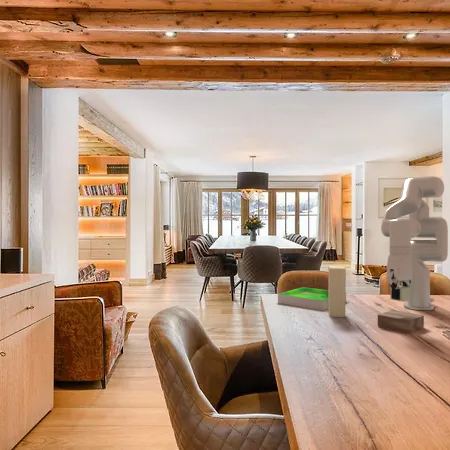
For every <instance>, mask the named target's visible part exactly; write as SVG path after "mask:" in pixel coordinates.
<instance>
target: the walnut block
mask: <svg viewBox="0 0 450 450" xmlns="http://www.w3.org/2000/svg"><path fill="white" fill-rule="evenodd" d="M424 317H425V315H422V314H417V313H414V312H413V313H412V312H407V311H402V310H397V309H396V310H395V309H391V310H388V311H385V312H382V313H378V314H377V327H378V328H382V329H387V330H390V331H391V330H392V331H394V332H395V331H396V332H400V333H403V334H412V333H414V332H416V331H419V330H423V329H424V328H425V318H424Z"/></svg>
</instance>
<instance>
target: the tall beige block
mask: <svg viewBox="0 0 450 450" xmlns="http://www.w3.org/2000/svg"><path fill="white" fill-rule="evenodd" d="M327 274H328V278H327V279H328V289H327V290H328V310H327V311H328V315H329V317H331V318H332V317H333V318H346V302H345V292H346V293H347V291H346V290H347V289H346V282H347V281H346V277H347V274H346V267H345V266H343V265H341V266H340V265H329V266H328V273H327Z"/></svg>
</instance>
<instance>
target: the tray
mask: <svg viewBox="0 0 450 450" xmlns="http://www.w3.org/2000/svg"><path fill="white" fill-rule="evenodd" d="M346 302H347V291H346V292H345V303H346ZM277 303H278V304H282V303H283V304H282V305H288V304H289V306H296V307H302V308H307V309H314V310H318V311H319V310H320V311H326V310H327V309H328V289H319V288H313V287H312V288H311V287H304V286H302V287H298V288H295V289H294V288H293V289H291V290H288V291H284V292H280V293H277Z"/></svg>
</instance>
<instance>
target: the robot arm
mask: <svg viewBox="0 0 450 450" xmlns="http://www.w3.org/2000/svg"><path fill="white" fill-rule="evenodd" d="M444 192H445V184H444V181H443V180H442V179H441V178H440V177H438V176H418V177H409V178H408V179H405V181H404V182H403V183H402V185H401V192H400V195H399V199H398V201H396V202H395V203H393V204H392V205H391V206H390V207H389V208H387V209H386V211H385V212H384V214H383V217H382V221H381V225H380V228H381V229H380V230H381V233H382V235H383V236H384V237H386V238H389V255H388V257H387V263H386V282H387V283H388V285H389V286H390V287H389V288H391V298H392V299H396V300H400V289H399V286H400V284H401V286H405V287H410V300H409V301H406V302H403V307H404V308H406V309H409V310H415V311H432V310H434V309H435V306H434V305H432V304H431V303H432V302H435V298H433V297H431V271H430V269H429V267H428V265H427V264H426V263H425V262H435V263H436V262H437V263H440V262H445V261H447V259H448V254H449V253H448V252H449V239H448V238H449V236H448V235H449V229H448V227H449V226H448V221H447V220H446V219H445V218H443V217H430V206H429V204H428V203H427V202H426V201H425V200H424V199H426V198H429V199H431V198H440V197H441V196H442V195H443V194H444ZM404 216H408V218H401V217H404ZM413 238H418V240H412V239H413ZM419 238H420V240H419ZM421 238H422V239H425V238H426V239H431V238H432V239H435V240H421ZM396 300H395V301H396Z"/></svg>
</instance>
